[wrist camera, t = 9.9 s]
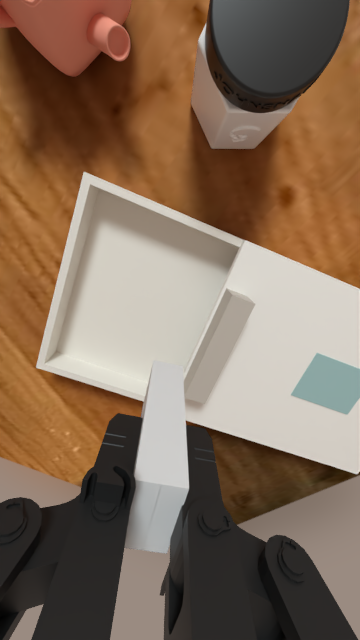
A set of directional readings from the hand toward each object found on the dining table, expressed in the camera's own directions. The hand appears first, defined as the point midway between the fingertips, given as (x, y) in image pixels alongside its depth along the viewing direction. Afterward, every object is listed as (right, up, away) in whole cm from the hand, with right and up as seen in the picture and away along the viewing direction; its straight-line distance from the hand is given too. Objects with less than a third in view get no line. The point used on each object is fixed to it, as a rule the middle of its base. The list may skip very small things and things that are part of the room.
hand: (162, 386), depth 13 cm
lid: (+16, -3, +18) cm, 24 cm away
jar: (+6, +25, +13) cm, 29 cm away
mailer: (+1, +4, +20) cm, 20 cm away
